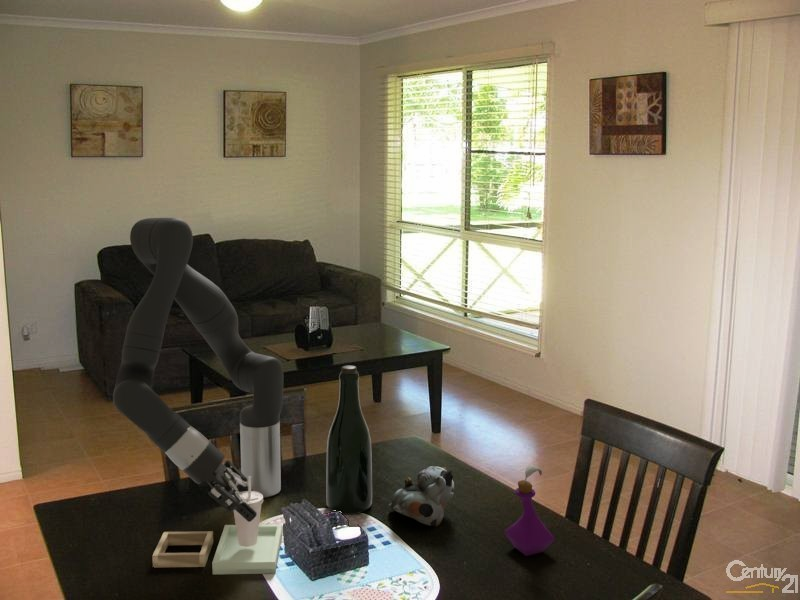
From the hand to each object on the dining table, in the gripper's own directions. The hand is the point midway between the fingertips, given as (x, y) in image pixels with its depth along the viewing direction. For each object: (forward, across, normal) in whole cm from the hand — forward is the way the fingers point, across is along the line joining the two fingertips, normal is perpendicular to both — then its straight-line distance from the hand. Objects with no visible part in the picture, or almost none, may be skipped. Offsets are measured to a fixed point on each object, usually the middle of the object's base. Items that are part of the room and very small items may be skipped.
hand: (255, 510), depth 166 cm
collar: (-3, 0, +17) cm, 17 cm away
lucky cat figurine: (+31, +16, -18) cm, 39 cm away
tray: (+6, 0, +8) cm, 9 cm away
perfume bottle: (+46, 0, -33) cm, 56 cm away
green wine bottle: (+20, +22, -7) cm, 30 cm away
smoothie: (+4, 0, +6) cm, 7 cm away
